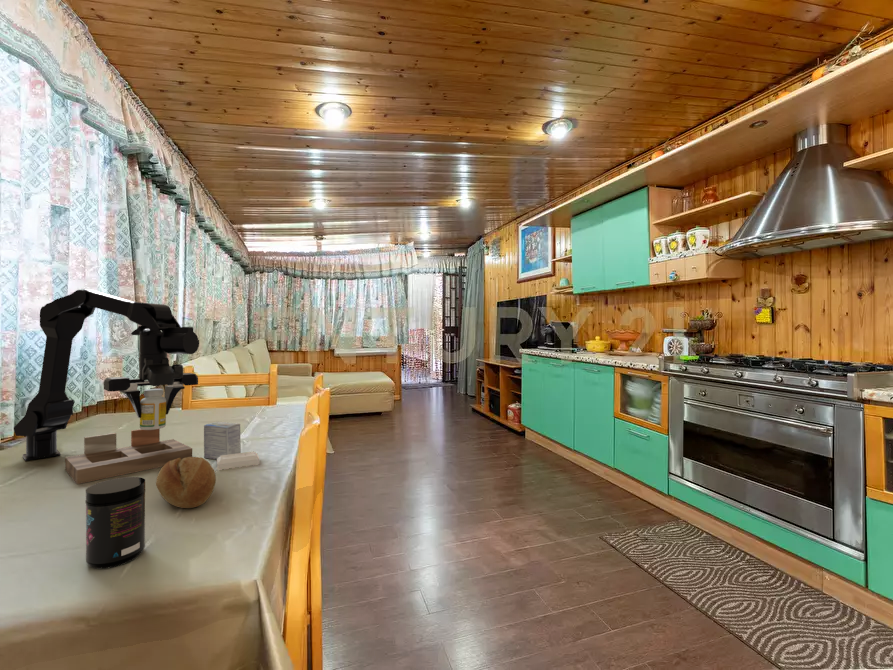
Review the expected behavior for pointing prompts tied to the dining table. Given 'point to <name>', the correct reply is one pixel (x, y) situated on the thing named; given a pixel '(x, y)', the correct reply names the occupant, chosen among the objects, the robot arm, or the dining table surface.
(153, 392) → the supplement bottle
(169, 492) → the bread roll
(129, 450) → the socket board
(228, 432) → the medicine box
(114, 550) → the supplement container
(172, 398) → the robot arm
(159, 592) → the dining table surface
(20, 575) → the dining table surface
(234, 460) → the soap bar
